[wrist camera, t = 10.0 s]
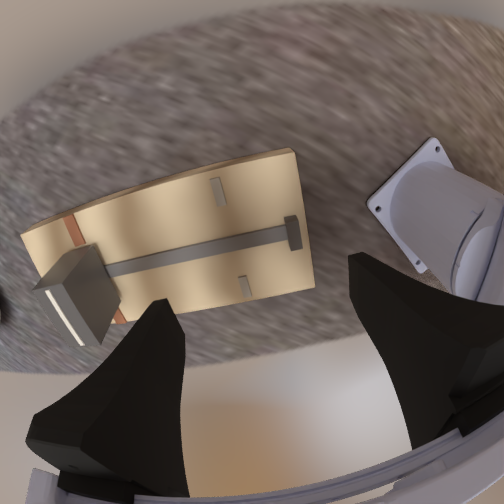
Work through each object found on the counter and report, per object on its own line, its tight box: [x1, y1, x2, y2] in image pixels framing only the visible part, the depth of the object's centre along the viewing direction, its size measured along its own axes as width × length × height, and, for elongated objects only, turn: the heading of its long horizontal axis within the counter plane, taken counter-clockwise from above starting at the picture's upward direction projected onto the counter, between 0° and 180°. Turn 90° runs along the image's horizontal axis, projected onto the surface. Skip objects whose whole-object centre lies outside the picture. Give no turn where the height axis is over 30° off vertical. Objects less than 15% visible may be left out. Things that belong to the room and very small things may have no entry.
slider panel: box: [21, 148, 315, 324], centre depth 20 cm, size 22×10×3 cm, turn 102°
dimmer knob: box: [32, 245, 121, 347], centre depth 18 cm, size 3×5×5 cm, turn 13°
